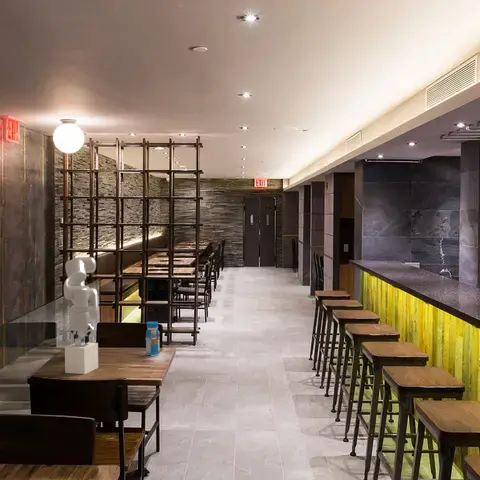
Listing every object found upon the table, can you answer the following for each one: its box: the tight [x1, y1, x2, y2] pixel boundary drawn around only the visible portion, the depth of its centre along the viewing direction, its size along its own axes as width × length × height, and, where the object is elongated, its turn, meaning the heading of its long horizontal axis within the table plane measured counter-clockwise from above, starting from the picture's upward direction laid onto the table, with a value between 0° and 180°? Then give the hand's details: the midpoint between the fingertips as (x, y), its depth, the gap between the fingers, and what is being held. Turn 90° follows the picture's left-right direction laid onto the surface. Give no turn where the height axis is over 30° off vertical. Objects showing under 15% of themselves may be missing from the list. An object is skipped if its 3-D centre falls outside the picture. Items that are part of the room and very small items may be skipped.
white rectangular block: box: [75, 337, 87, 347], centre depth 322 cm, size 4×6×10 cm, turn 164°
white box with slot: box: [64, 342, 99, 375], centre depth 322 cm, size 12×14×14 cm
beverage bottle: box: [145, 321, 161, 357], centre depth 358 cm, size 8×8×20 cm
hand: (81, 342), depth 322 cm, fingers open, 6 cm apart
